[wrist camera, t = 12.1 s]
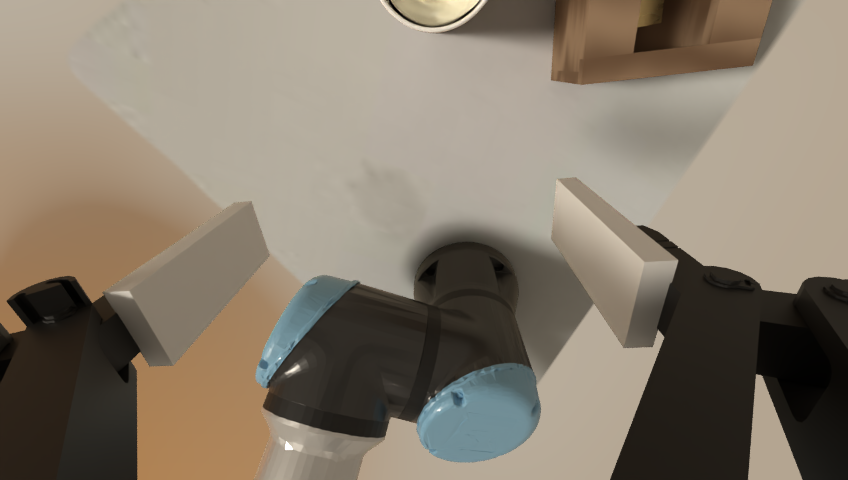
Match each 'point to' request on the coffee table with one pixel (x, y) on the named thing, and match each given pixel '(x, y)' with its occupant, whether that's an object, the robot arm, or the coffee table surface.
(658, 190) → the coffee table surface
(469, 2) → the candle holder
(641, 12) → the yellow rectangular block
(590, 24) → the box
